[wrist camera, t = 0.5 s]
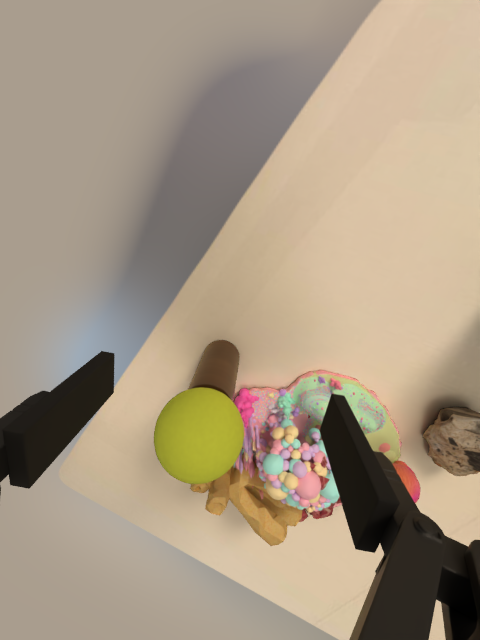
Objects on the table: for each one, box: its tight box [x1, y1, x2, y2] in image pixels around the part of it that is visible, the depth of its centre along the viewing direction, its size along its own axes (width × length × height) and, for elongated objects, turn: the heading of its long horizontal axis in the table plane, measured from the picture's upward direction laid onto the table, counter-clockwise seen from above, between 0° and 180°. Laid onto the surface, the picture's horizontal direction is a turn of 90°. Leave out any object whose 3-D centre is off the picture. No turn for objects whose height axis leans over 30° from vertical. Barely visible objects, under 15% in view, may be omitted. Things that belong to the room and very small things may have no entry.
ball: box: [154, 387, 244, 484], centre depth 21 cm, size 7×7×7 cm
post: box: [188, 340, 239, 402], centre depth 29 cm, size 4×4×10 cm
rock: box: [423, 407, 480, 476], centre depth 32 cm, size 9×7×10 cm
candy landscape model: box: [190, 370, 420, 546], centre depth 33 cm, size 25×24×9 cm
